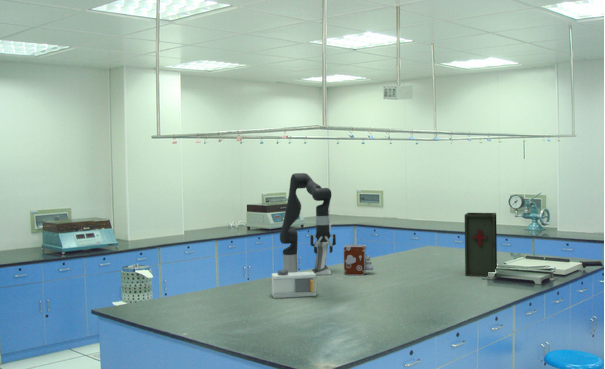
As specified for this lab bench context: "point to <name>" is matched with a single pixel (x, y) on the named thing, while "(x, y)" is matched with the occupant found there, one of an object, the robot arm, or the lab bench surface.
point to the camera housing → (290, 284)
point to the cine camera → (356, 260)
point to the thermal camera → (321, 259)
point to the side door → (304, 285)
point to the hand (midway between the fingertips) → (323, 253)
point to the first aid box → (480, 244)
